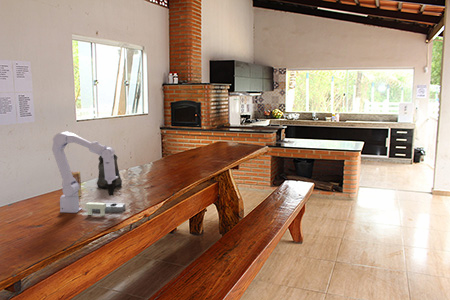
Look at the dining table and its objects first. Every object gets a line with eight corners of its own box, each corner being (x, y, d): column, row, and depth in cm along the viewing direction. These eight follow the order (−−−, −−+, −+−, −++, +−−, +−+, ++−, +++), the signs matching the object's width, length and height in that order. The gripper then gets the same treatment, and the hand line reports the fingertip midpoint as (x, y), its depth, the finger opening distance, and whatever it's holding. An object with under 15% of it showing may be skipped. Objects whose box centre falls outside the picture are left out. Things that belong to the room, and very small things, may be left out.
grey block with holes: (89, 211, 222) (89, 206, 222) (94, 207, 229) (94, 202, 229) (121, 212, 221) (121, 207, 221) (125, 208, 228) (125, 203, 227)
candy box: (81, 194, 254) (80, 171, 252) (80, 196, 250) (78, 172, 248) (67, 195, 253) (65, 171, 251) (65, 197, 249) (63, 173, 247)
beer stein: (121, 182, 285) (120, 148, 281) (123, 189, 267) (122, 152, 263) (96, 184, 280) (95, 149, 276) (97, 191, 262) (95, 154, 258)
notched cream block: (86, 215, 215) (85, 204, 214) (88, 213, 218) (87, 202, 217) (104, 216, 215) (103, 204, 214) (106, 214, 218) (106, 202, 217)
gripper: (116, 171, 213) (118, 196, 215) (117, 166, 227) (120, 189, 229) (102, 172, 211) (105, 197, 214) (104, 167, 225) (107, 190, 228)
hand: (111, 193), depth 221 cm, fingers open, 7 cm apart
